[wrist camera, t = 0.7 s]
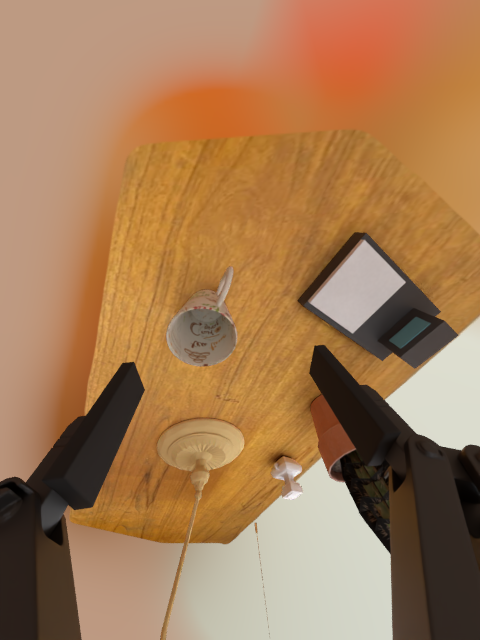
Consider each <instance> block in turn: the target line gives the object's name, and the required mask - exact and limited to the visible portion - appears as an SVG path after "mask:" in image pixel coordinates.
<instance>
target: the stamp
mask: <svg viewBox="0 0 480 640" xmlns="http://www.w3.org/2000/svg"><path fill="white" fill-rule="evenodd" d="M301 471H302V466H301V465H300V464H299V463H298V462H296V461H295V460H294V459H292V458H288V457H285V456H283V457H281V458H280V459H279V460H278V461H276V462H275V463H274V466H273V468H272V471H271V475H272V476H273V477H274V478H277V479H281V480H285V485H284V486H283V487H282V492H281V493H282V497H283V498H286V499H292V500H294V499H295V498H296V497H298V496H299V495H300V494H302V493H303V490H302V486H300V484H299V483H296V482H294V480H293V478H294V477H295V476H296V475H298V474H299V473H300V472H301Z"/></svg>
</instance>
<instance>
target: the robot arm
mask: <svg viewBox="0 0 480 640" xmlns="http://www.w3.org/2000/svg"><path fill="white" fill-rule="evenodd" d="M309 374H310V375H311V377H312V378H313V380H314V382H315V383H316V385H317V387H318V388H319V390H320V391H321V393H322V395H323V396H324V398H325V400H326V401H327V403H328V404H329V406H330V408H331V409H332V411H333V413H334V414H335V416H336V418H337V419H338V421H339V422H340V424H341V426H342V427H343V429H344V431H345V432H346V434H347V435H348V437H349V439H350V440H351V442H352V444H353V445H354V447H355V448H356V450H357V452H358V453H359V455H360V457H361V458H362V460H363V461H364V463H365V465H366V466H367V467H370V466H377V465H381V464H382V462H383V461H384V459H386V460H387V462H388V463H389V464H390V466H389V467H388V469H387V470H386V472H385V474H384V478H385V479H386V478H387V477H388V476H389V506H390V546H391V583H392V585H391V586H392V628H393V640H480V447H479V446H476V445H468V446H465V447H464V448H463V450H462V451H461V450H456V449H451V448H446V447H441V446H439V445H438V444H436V443H435V442H434V441H432V440H431V439H429V438H427V437H425V436H422V435H418V434H416V433H415V432H414V431H413V430H412V429H411V428H410V427H409V426H408V424H407V423H406V422H405V421H404V420H403V419H402V418H401V417H400V416H399V415H398V414H397V413H396V412H395V411H394V410H393V409H392V408H391V407H390V406H389V404H388V403H387V402H386V401H385V400H383V398H382V397H381V396H380V395H379V394H378V393H377V392H376V391H375V390H374V389H372V388H371V387H369V386H368V385H359V384H358V383H357V381H356V380H355V379H354V378H353V377H352V376H351V375H350V373H349V372H348V371H347V370H346V369H345V368H344V367H343V366H342V364H341V363H340V362H339V361H338V360H337V359H336V358H335V357H334V355H333V354H332V353H331V352H330V351H329V350H328V349H327V347H326V346H325V345H318V346H314V351H313V357H312V362H311V367H310V372H309ZM144 391H145V389H144V387H143V384H142V382H141V379H140V376H139V374H138V371H137V368H136V366H135V363H134V362H129V363H122V365H121V366H120V368H119V369H118V370H117V372H116V373H115V375H114V376H113V378H112V379H111V381H110V382H109V383H108V385H107V386H106V388H105V389H104V391H103V392H102V394H101V395H100V396H99V398H98V399H97V401H96V402H95V404H94V405H93V407H92V408H91V409H90V411H89V412H88V414H87V415H86V416H81V417H78V418H77V419H76V420H74V421H73V422H72V423H71V424H70V425H69V426H68V427H67V428H66V430H65V431H64V432H63V434H62V435H61V436H60V439H58V440H57V442H56V443H55V444H54V446H53V448H51V450H50V451H49V452H48V454H47V455H46V456H45V458H44V459H43V460H42V462H41V463H40V464H39V466H38V467H37V469H36V470H35V471H34V473H33V474H32V475H31V476H30V478H29V479H28V480H27V482H26V483H25V482H24V481H23V480H22V479H20V478H18V477H12V478H7V479H5V480H3V481H1V482H0V640H81V633H80V625H79V617H78V610H77V602H76V594H75V587H74V579H73V571H72V564H71V556H70V549H69V541H68V534H67V526H66V519H65V517H64V514H63V513H64V511H65V510H66V508H67V506H68V505H69V506H70V507H72V508H73V509H74V510H78V509H84V508H91V507H93V505H94V503H95V500H96V498H97V496H98V494H99V491H100V489H101V487H102V485H103V482H104V480H105V478H106V476H107V473H108V471H109V469H110V467H111V465H112V462H113V460H114V458H115V456H116V453H117V451H118V449H119V447H120V444H121V442H122V440H123V438H124V435H125V433H126V431H127V429H128V426H129V424H130V422H131V420H132V417H133V415H134V413H135V411H136V408H137V406H138V404H139V402H140V400H141V397H142V395H143V393H144Z"/></svg>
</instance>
